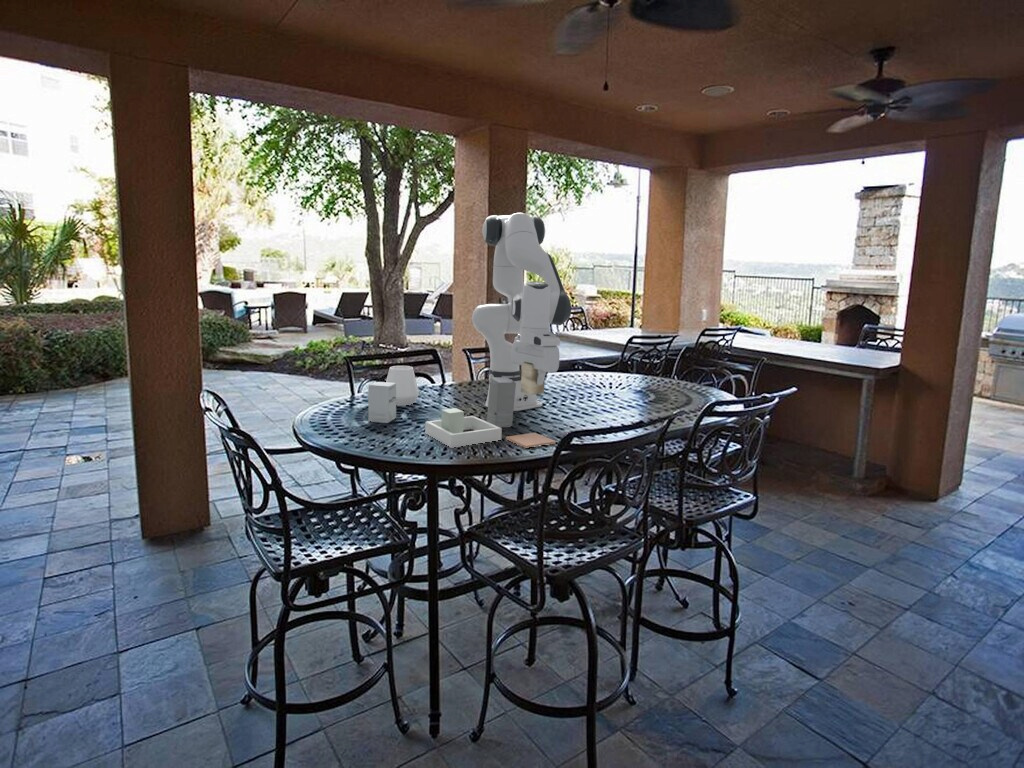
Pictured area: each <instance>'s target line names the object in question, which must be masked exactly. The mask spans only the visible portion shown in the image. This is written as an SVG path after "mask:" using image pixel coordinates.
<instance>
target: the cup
mask: <svg viewBox="0 0 1024 768" xmlns="http://www.w3.org/2000/svg"><path fill="white" fill-rule="evenodd" d="M385 381H386V382H390V383H396V405H397V406H396V407H406V405H409V406H412V405H414V404H413V403H415V402H416V400H417V399H418V397H419V394H420V392H419V387H418V386H419V385H418V382H417V378H416V375H415V372H414V368H413V366H410V365H393V366H390V367H389V369H388V373H387V377H386V380H385ZM411 404H412V405H411Z"/></svg>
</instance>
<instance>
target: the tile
mask: <svg viewBox="0 0 1024 768" xmlns="http://www.w3.org/2000/svg"><path fill="white" fill-rule="evenodd" d="M506 439H507V440H509V441H511V442H513V443H512V444H514V443H516V444H518V445H520V446H523V447H525V448H529V447H534V446H539V445H546V444H555V445H556V440H553V439H551V438H550V437H546V436H544V435H542V434H539V433H537V432H528V433H523V434H516V435H509V436H505V440H506ZM507 440H506V441H507ZM509 441H508V442H509ZM511 442H510V443H511ZM516 444H515V445H516ZM518 445H517V446H518ZM520 446H519V447H520ZM525 448H524V449H525Z"/></svg>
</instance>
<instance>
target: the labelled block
mask: <svg viewBox="0 0 1024 768" xmlns="http://www.w3.org/2000/svg"><path fill="white" fill-rule="evenodd" d="M521 371H522V375H521V392H523V393H526V394H529V395H534V394H536V395H541V394H543V395H544V393H545V377H546V376H545V377H544V379H543V384H542V385H538V384H536V383H535V382H536V378H538V375H539V373H538V370H537V369H534V365H533V364H532V363H528V362H524V363H522V370H521Z"/></svg>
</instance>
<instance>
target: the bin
mask: <svg viewBox="0 0 1024 768" xmlns="http://www.w3.org/2000/svg"><path fill="white" fill-rule="evenodd" d="M424 422H425V428H424V429H425V431H424V432H425V433H426V434H428V435H429V436H428V435H427V436H428V437H430V436H431V437H430V438H432V437H433V438H432V439H434V438H435V439H436V441H437V440H438V441H437V442H439V441H440V442H439V443H441V442H442V443H441V444H443V445H444V444H445V445H444V446H446V445H447V447H448V446H449V447H448V448H450V449H453V448H454V447H456V448H462V447H461V446H463V447H467V446H466V445H469V446H473V445H472V444H476V445H479V444H478V443H483V444H486V443H485V442H490V443H493V442H492V441H496V442H499V441H498V440H501V441H502V434H503V433H502V430H503V429H502V428H503V427H498V426H495V425H493V424H491V423H489V422H487V420H484V419H481V418H479V417H477V416H475V415H470V416H469V415H468V416H464V426H463V432H461V433H454V434H453V433H451V432H449V431H447V430H445V429H443V428H441V419H435V420H429V421H428V420H427V421H424ZM467 430H468V431H467ZM469 430H471V431H469ZM426 434H425V435H426ZM435 439H434V440H435ZM454 449H455V448H454Z"/></svg>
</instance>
